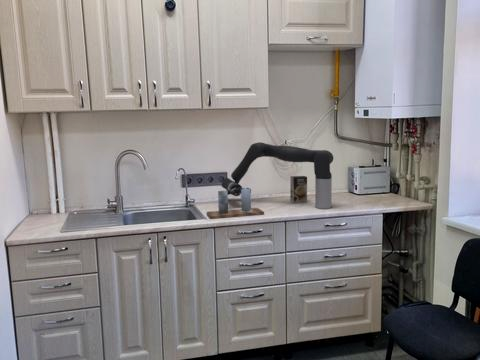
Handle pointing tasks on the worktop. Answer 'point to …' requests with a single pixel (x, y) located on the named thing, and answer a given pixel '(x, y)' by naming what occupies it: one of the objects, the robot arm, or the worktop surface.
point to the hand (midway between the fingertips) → (241, 193)
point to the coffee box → (298, 189)
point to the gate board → (227, 213)
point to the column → (246, 200)
